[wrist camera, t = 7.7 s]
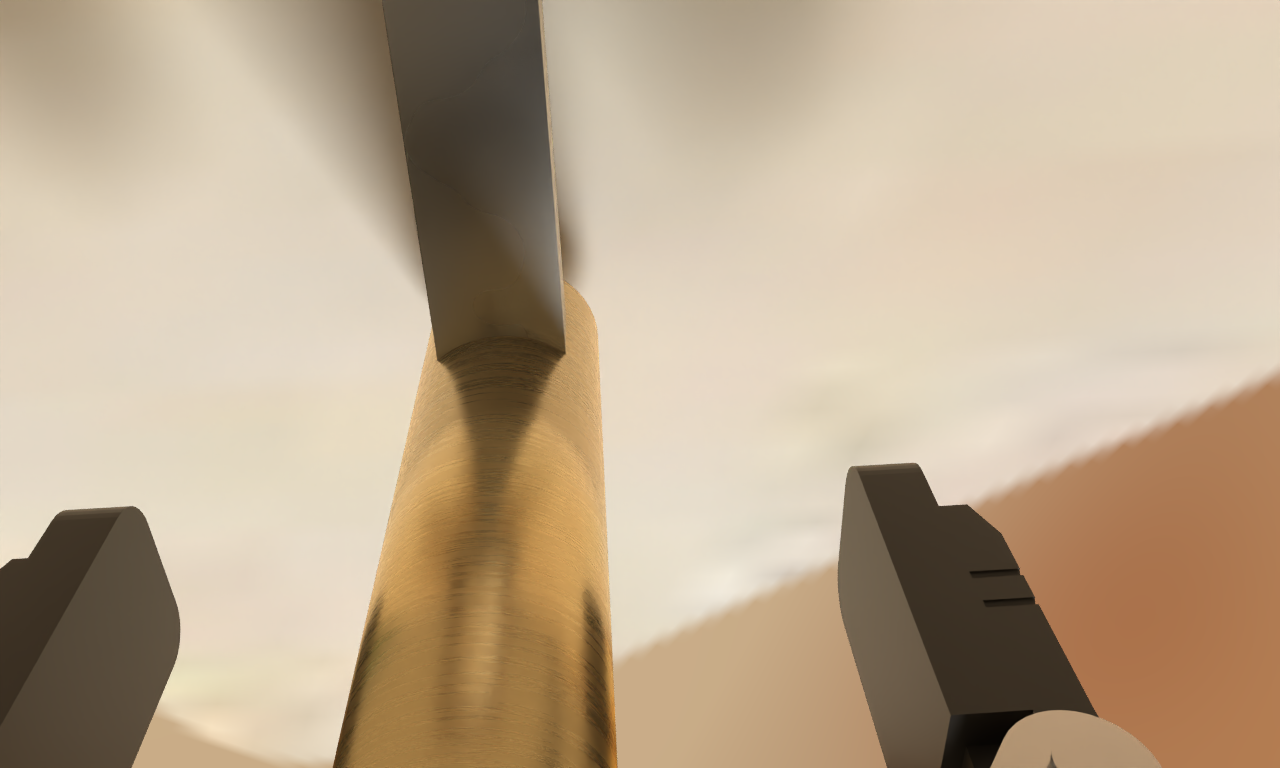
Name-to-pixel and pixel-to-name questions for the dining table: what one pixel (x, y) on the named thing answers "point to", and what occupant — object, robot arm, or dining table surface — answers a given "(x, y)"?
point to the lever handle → (489, 432)
